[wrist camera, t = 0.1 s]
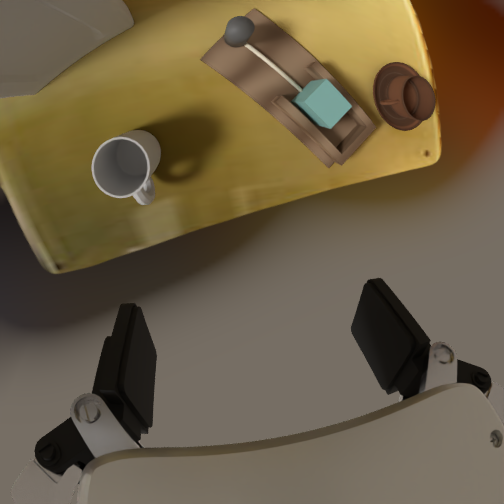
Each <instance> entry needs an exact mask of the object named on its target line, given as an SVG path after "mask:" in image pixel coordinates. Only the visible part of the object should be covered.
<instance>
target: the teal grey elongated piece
mask: <svg viewBox="0 0 504 504" xmlns="http://www.w3.org/2000/svg"><path fill="white" fill-rule="evenodd" d="M254 29H255V26H254V23H253V21H252V20H251V19H249V18H247V17H244V16H237V17H234V18H232V19H231V20H230V21H229V22H228V24H227V27H226V31H225V34H224V41H225V43H226V44H227V45H229V46H231V47H235V48H237V47H241V46H243V45H244V46H245V47H247V48H248V49H249V50H251V51H252V52H253V53H255V54H256V55H257V56H258V57H260V58H261V59H262V60H263V61H265V62H266V63H267V64H268V65H270V66H271V67H272V68H273V69H274V70H275V71H277V72H278V73H279V74H280V75H281V76H282V77H284V78H285V79H286V80H287V81H288V82H289V83H290V84H291V85H293V86H294V87H295V88H296V89H297V90H298V91H299V92H300V93H299V94H298V95H297V96H296V97H295V98H294V99H293V100H292V101H291V102H292V103H293V104H294V105H295V106H296V107H297V108H298V109H299V110H300V111H301V112H302V113H303V114H304V115H305V116H307V117H308V118H309V119H310V120H311V121H312V122H313V123H314V124H315V125H318V126H322V127H326V128H329V129H331V128H332V127H333V126H334V125H335V124H336V123H337V122H338V121H339V120H340V119H341V118H342V116H343V115H344V114H345V113H346V112H347V111H348V110H349V109H350V108H351V107H352V106H351V104H350V103H349V102H348V101H347V100H346V99H345V98H344V97H343V95H342V94H341V93H340V92H339V91H338V90H337V89H336V88H335V87H334V86H333V85H332V84H331V83H330V82H329V81H328V80H327V79H321V80H315V81H310V82H309V83H308V84H307V85H306V86H305V87H304V88H303V89H302V88H301V87H300V86H299V85H297V84H296V83H295V82H294V81H293V80H292V79H291V78H290V77H289V76H288V75H286V74H285V73H284V72H283V71H282V70H281V69H279V68H278V67H277V66H276V65H275V64H274V63H272V62H271V61H270V60H269V59H268V58H266V57H265V56H264V55H263V54H261V53H260V52H259V51H258V50H256V49H255V48H254V47H252V46H251V45H250V44H248V43H247V41H248V39H249V38H250V36H251V35H252V34H253V32H254Z"/></svg>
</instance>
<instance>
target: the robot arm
mask: <svg viewBox="0 0 504 504" xmlns="http://www.w3.org/2000/svg"><path fill="white" fill-rule="evenodd" d="M351 332H352V334H353V336H354V338H355V340H356V342H357V343H358V345H359V347H360V349H361V351H362V352H363V354H364V356H365V358H366V360H367V362H368V364H369V365H370V367H371V369H372V371H373V373H374V375H375V376H376V378H377V380H378V382H379V384H380V386H381V387H382V389H384V390H386V392H387V394H388V395H389V394H391V393H394V392H396V391H399V392H400V397H399V401H398V403H395V404H393V405H390V406H388V407H385V408H383V409H380V410H378V411H374V412H372V413H369V414H366V415H363V416H360V417H357V418H354V419H350V420H348V421H344V422H341V423H337V424H334V425H330V426H326V427H323V428H319V429H315V430H310V431H306V432H302V433H298V434H293V435H288V436H282V437H277V438H271V439H265V440H259V441H252V442H244V443H235V444H225V445H213V446H198V447H164V448H144V447H143V446H142V444H141V443H140V442H139V440H140V439H141V433H142V434H143V433H144V434H148V427H152V423H153V401H154V385H155V371H156V360H157V355H156V349H155V347H154V344H153V341H152V339H151V336H150V333H149V330H148V327H147V325H146V322H145V319H144V316H143V313H142V309H141V307H137V306H136V304H135V303H127V304H121V305H120V308H119V311H118V315H117V318H116V322H115V325H114V329H113V332H112V336H107V338H106V339H105V341H104V345H103V349H102V352H101V356H100V360H99V364H98V368H97V372H96V377H95V381H94V386H93V391H92V394H91V393H87V394H83V395H80V396H79V397H77V398H76V399H75V400H74V402H73V403H72V406H71V409H70V414H71V417H70V418H69V419H67V420H66V421H64V422H63V423H62V424H60V425H59V426H57V427H56V428H55V429H53V430H52V431H51V432H49V433H48V434H46V435H45V436H43V437H42V438H41V439H40V440H39V441H38V442H37V444H36V447H35V457H36V458H35V459H34V460H32V459H30V461H29V462H28V464H27V465H26V467H25V468H24V469H23V471H22V472H21V474H20V475H19V477H18V478H17V480H16V481H15V483H14V484H13V486H12V489H11V495H12V499H13V501H14V502H15V504H71V503H70V501H71V498H72V496H73V494H74V493H75V492H74V491H73V490H74V488H75V487H76V485H77V484H79V488H78V497H77V504H504V388H503V387H502V386H500V385H499V384H497V383H496V382H494V381H493V382H492V383H491V378H490V376H489V374H488V372H487V371H486V370H484V369H483V368H481V367H478V366H475V365H472V364H469V363H466V362H463V361H461V360H458V359H457V355H456V352H455V350H454V349H453V348H452V347H451V346H450V345H449V344H447V343H445V342H436V343H434V344H432V346H431V345H430V344H429V342H430V339H429V338H428V336H427V335H426V334H425V332H424V331H423V330H422V328H421V327H420V326H419V324H418V323H417V322H416V320H415V319H414V318H413V317H412V315H411V314H410V313H409V311H408V310H407V309H406V308H405V306H404V305H403V304H402V303H401V301H400V300H399V299H398V298H397V296H396V295H395V294H394V293H393V291H392V290H391V289H390V288H389V287H388V285H387V284H386V283H385V282H384V281H383V280H382V279H381V278H376V279H370V280H368V281H367V283H366V284H365V285H364V287H363V291H362V294H361V297H360V301H359V304H358V307H357V311H356V314H355V317H354V320H353V323H352V326H351Z"/></svg>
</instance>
